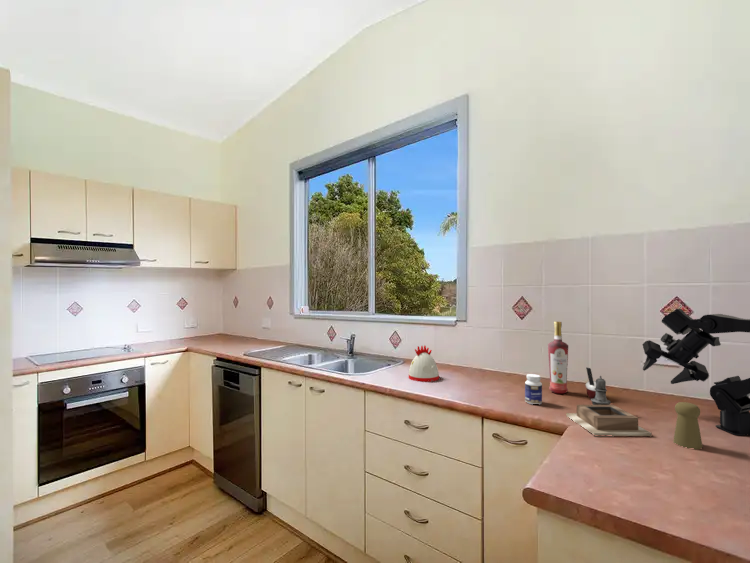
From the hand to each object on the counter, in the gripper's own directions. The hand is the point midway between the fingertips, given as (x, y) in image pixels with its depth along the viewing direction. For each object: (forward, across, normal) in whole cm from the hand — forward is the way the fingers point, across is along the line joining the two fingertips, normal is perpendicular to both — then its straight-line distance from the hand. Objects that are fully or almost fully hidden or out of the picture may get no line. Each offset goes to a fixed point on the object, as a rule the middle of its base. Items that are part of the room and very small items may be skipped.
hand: (657, 376), depth 127 cm
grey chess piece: (+13, +12, +15) cm, 23 cm away
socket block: (+7, +15, +27) cm, 32 cm away
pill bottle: (+24, +30, +15) cm, 41 cm away
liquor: (+27, +20, -1) cm, 34 cm away
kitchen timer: (+54, +69, +1) cm, 87 cm away
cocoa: (+20, +10, +1) cm, 22 cm away
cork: (-4, 0, +32) cm, 33 cm away
